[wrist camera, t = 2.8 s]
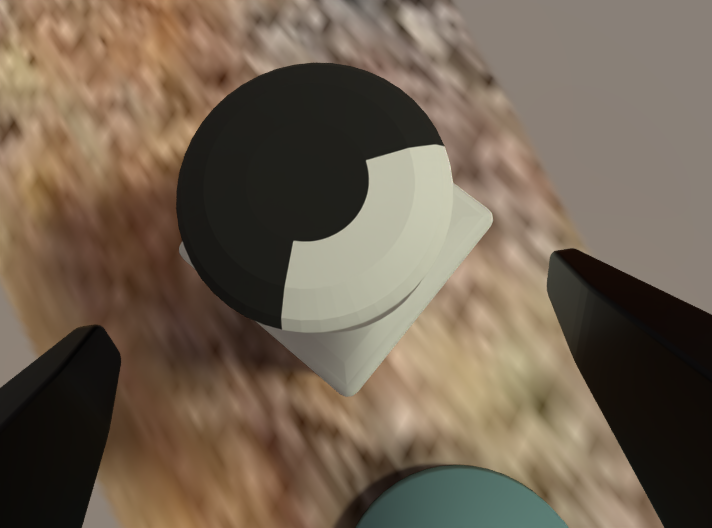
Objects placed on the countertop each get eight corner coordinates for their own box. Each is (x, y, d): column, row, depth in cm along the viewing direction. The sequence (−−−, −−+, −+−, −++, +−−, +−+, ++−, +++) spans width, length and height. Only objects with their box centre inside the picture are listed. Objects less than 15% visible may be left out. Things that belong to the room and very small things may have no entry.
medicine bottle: (239, 277, 22) (63, 208, 10) (339, 159, 22) (288, -43, 10) (360, 380, 21) (328, 441, 9) (462, 254, 21) (561, 151, 9)
